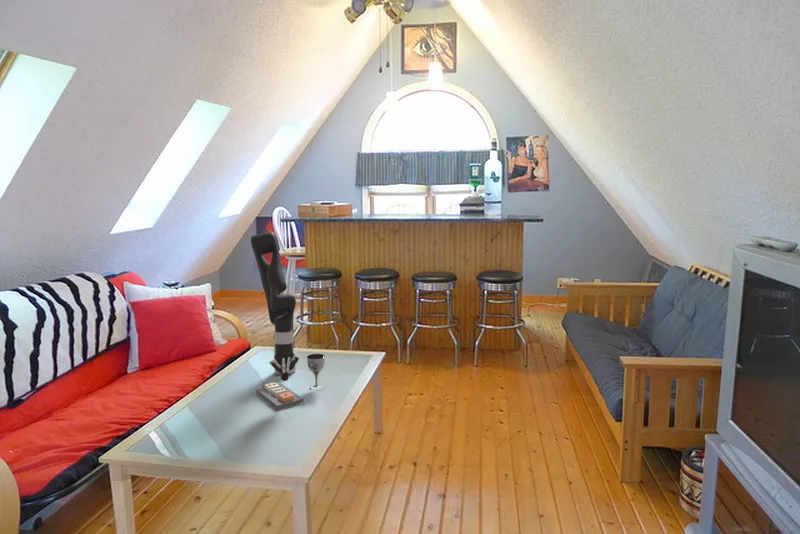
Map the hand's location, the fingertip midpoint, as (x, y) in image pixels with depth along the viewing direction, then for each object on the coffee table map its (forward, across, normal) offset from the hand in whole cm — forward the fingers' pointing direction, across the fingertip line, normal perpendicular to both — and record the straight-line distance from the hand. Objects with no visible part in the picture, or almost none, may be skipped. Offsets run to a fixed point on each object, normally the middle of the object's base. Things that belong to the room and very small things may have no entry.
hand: (284, 380), depth 235 cm
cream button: (+9, 0, -14) cm, 17 cm away
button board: (+10, 0, -7) cm, 13 cm away
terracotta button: (+9, 0, 0) cm, 9 cm away
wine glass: (+10, -20, -8) cm, 24 cm away
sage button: (+9, 0, -7) cm, 11 cm away
